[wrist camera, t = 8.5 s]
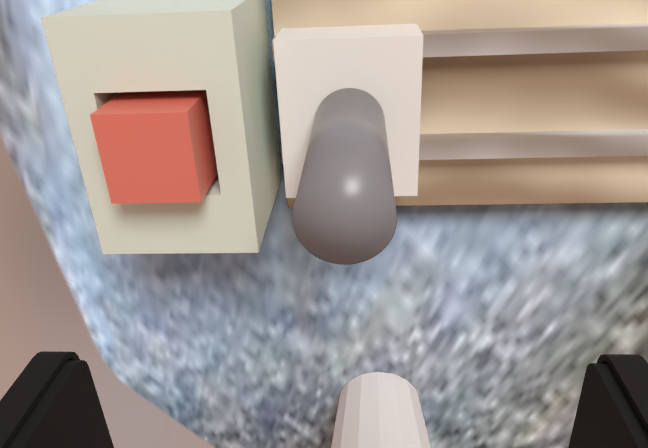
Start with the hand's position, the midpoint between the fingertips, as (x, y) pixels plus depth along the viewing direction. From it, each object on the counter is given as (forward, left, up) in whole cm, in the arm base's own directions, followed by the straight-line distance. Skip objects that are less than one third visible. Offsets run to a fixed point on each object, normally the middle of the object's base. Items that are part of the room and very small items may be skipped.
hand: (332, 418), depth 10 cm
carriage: (0, 0, -19) cm, 19 cm away
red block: (0, +8, -17) cm, 18 cm away
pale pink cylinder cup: (-22, -1, -22) cm, 31 cm away
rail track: (0, -9, -22) cm, 24 cm away
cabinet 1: (0, +8, -22) cm, 23 cm away
